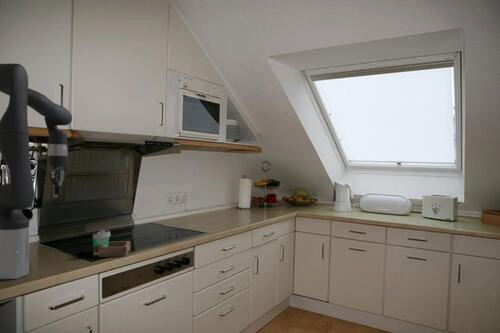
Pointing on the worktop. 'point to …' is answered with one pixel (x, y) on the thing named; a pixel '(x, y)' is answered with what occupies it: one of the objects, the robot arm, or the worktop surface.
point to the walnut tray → (114, 249)
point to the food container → (100, 240)
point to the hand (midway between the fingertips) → (57, 194)
